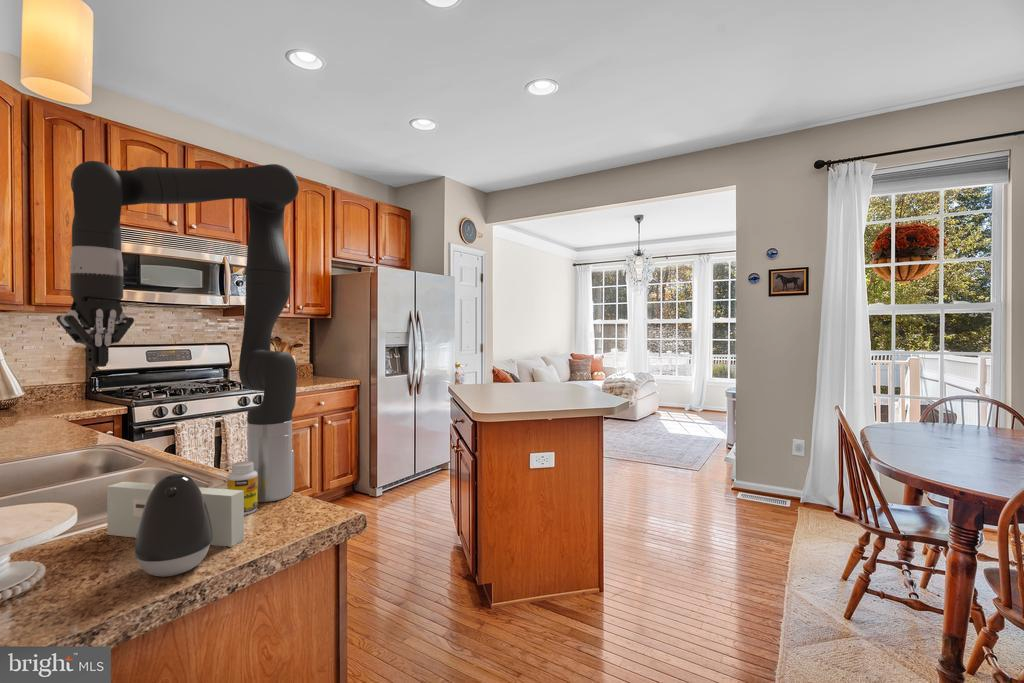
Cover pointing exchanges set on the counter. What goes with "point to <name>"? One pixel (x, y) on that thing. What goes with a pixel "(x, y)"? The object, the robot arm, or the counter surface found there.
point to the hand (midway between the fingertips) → (98, 366)
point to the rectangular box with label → (220, 503)
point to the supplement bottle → (244, 484)
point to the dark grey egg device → (173, 527)
